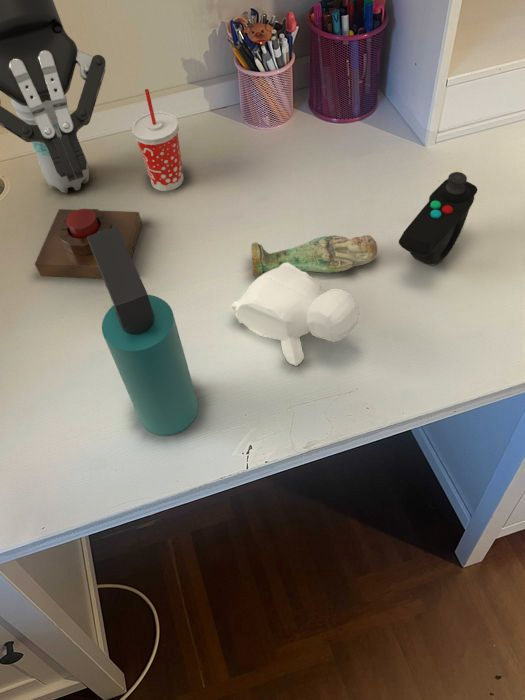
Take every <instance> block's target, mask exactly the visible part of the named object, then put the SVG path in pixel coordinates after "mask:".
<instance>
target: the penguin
mask: <svg viewBox="0 0 525 700" xmlns="http://www.w3.org/2000/svg"><path fill="white" fill-rule="evenodd" d="M322 290H323V289H322V284H321V283H320V281H318V280H316V279H315V278H314V277H312V276H310V275H309V273H307V271H303V270H299V269H298V268H296V267H294V266H293V265H291V264H290V263H283V264H282V265H280V266H279V267H278V268H275V269H273V270H270V271H268V272H266V273H264V274H262V275H261V276H257V278H256V279H255V280H254V281H253V282H252V283H251V284H250V286H249V287H248V288H247V290H246V291H245V293H244V294H243V295H241V296H240V298H239V300H235V301H233V303H232V304H231V305H230V306H231V308H232V309H233V310H234V312H235V318H236V319H237V321H238V323H240V324H243V325H244V326H246V328H248V329H249V330H250V331H251V332H253V333H254V334H257V335H258V336H260V337H263V338H264V337H266V338H267V339H268V338H269V339H273V340H279V341H280V344H281V345H280V347H281V349H282V352H283V353H282V354H283V357H284V358H285V360H286V362H287V363H288V364H290V365H293V366H295V367H297V366H298V365H300V364H301V363H302V362H303V360H304V359H305V354H304V352H303V347H302V342H301V338H300V337H302V336H304V335H306V334H308V333H311V335H312V336H314V337H315V338H318V339H325V340H326V341H329V342H335V343H336V342H339V341H341V340H342V339H344V338H345V337H346V336H348V334H350V333H351V332H352V331H353V330H354V329H355V327H356V326H357V325H358V321H359V319H360V311H359V308H358V306H357V303H356V300H355V299H354V298H353V297H352V295H351V294H350V293H349V292H347V291H346V290H344V289H341V288H331V289H328V290H326V291H324V292H323V291H322Z"/></svg>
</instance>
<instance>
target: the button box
mask: <svg viewBox="0 0 525 700" xmlns="http://www.w3.org/2000/svg"><path fill="white" fill-rule="evenodd" d="M88 209H89V210H92V211H93V212H94V213H95V215H96V218H97V221H98V224H99V229H98V231H100V230H107V229H110V228H113V227H117V228H118V230H119V232H120V234H121V237H122V239H123V241H124V243H125V245H126V248H127V250H128V252H129V254H130V256H131V258H132V256H133V254H134V251H135V249H136V248H135V247H136V244H137V241H138V239H139V235H140V233H141V229H142V227H143V221H142V217H141V215H140V211H128V210H127V211H125V210H124V211H123V210H100V209H97V208H88ZM76 210H77V209H70V208H69V209H65V208H59V209H58V210H57V213H56V215H55V216H54V217H55V218H54V220H53V222H52V224H51V226H50V229H49V230H48V233H47V235H46V237H45V240H44V242H43V244H42V247H41V248H40V251H39V253H38V255H37V257H36V260H35V261H34V266H35V267H36V269H37V271H38V274H39V275H40V276H41V277H57V278H58V277H60V278H61V277H62V278H82V279H99V280H100V279H101V280H102V279H103V277H102V275H101V272H100V270H99V267H98V265H97V262H96V260H95V257H94V255H93V252H92V250H91V247H90V244H89V242H88V239H87V238H84V239H80V238H75V237H74V236H72V234H71V232H70V230H69V227H68V225H67V218H68V216H69V215H70V214H71V213H72V212H74V211H76ZM98 231H97V232H98ZM97 232H96V233H97ZM96 233H95V234H96Z"/></svg>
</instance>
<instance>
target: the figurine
mask: <svg viewBox="0 0 525 700" xmlns="http://www.w3.org/2000/svg"><path fill="white" fill-rule="evenodd" d="M250 247H251V248H250V249H251V261H252V262H251V263H252V272H253V273H252V274H253V276H255V277H259V276H261V275H262V274H264V273H266V272H268V271H270V270H273V269H275V268H278V267H279V266H280V265H282V264H283V263H290V264H291V265H293V266H294V267H296V268H298V269H299V270H301V271H302V272H313V273H315V272H317V273H325V274H327V273H329V274H330V273H340V272H345V271H347V270H350V269H351V268H353V267H359V266H362V265H366V264H369V263H372V261H374V260H375V259H376V257H377V255H378V245H377V241H376V240H375V238H374V237H372V236H371V235H369V234H365V235H361V236H355V237H352V238H348V237H346V236H342V235H334V234H333V235H332V234H331V235H325V236H319V237H316V238H314V239H312V240H310V241H308V242H305V243H302V244H299V245H297V246H293V247H292V248H288V249H285V250H279V251H275V252H271V253H269V252H267V251H266V250H265V248H264V247H263V245H262V244H260V243H259V242H258V241H256V242H252V243H251V246H250Z"/></svg>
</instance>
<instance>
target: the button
mask: <svg viewBox="0 0 525 700" xmlns="http://www.w3.org/2000/svg"><path fill="white" fill-rule="evenodd" d="M89 209H90V208H79V209H75V210H76V211H74V212H72V213H71V214H70V215H69V216H68V218H67V225H68V227H69V230H70V232H71V234H72V236H74V237H75V238H80V239H84V238H87V236H90V235H93V234H95V233H96V232H97V231H98V229H99V224H98V221H97V218H96V215H95V213H94V212H93V211H92V210H89Z"/></svg>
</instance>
